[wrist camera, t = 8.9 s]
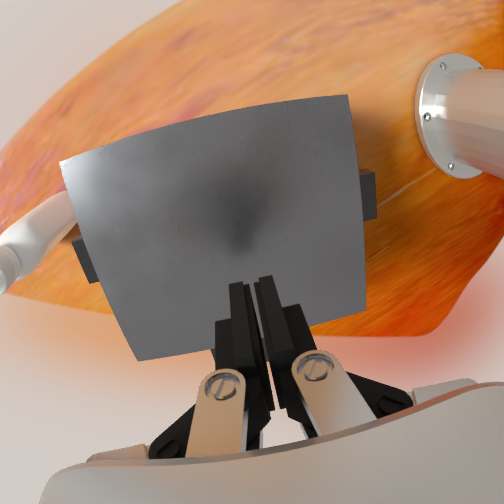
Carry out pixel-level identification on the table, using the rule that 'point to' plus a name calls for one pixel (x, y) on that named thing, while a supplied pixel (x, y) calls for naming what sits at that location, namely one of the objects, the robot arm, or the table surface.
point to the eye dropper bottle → (34, 238)
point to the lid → (223, 219)
